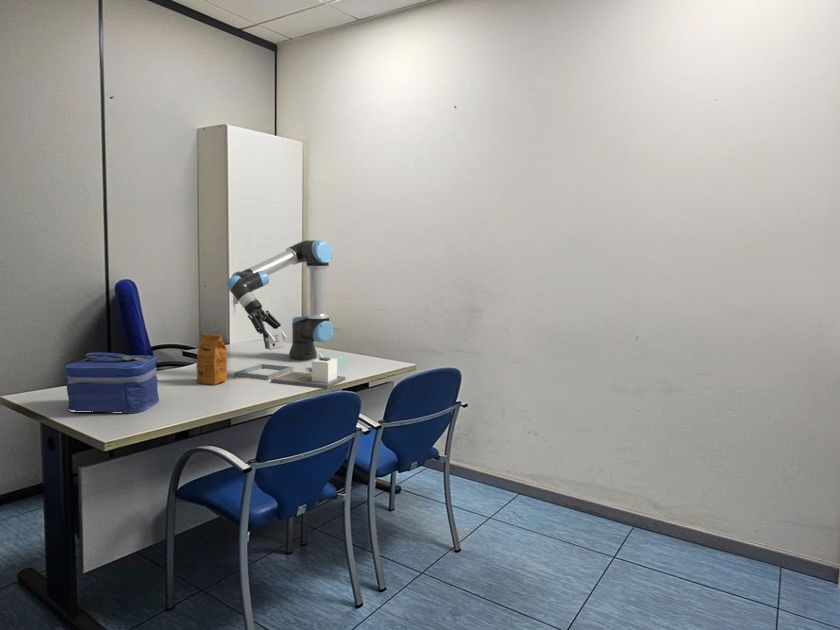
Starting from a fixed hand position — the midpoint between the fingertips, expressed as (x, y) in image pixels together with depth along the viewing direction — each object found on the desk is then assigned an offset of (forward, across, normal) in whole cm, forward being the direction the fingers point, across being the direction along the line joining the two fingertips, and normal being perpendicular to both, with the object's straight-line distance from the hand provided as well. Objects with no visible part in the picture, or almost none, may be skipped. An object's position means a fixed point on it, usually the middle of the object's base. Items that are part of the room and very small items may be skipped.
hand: (279, 340), depth 262 cm
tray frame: (+5, -4, -20) cm, 21 cm away
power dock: (+24, +1, 0) cm, 24 cm away
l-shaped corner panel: (+23, -25, -2) cm, 34 cm away
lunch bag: (-6, +67, -32) cm, 74 cm away
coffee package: (-2, +21, -27) cm, 35 cm away
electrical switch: (+1, 0, -5) cm, 5 cm away
